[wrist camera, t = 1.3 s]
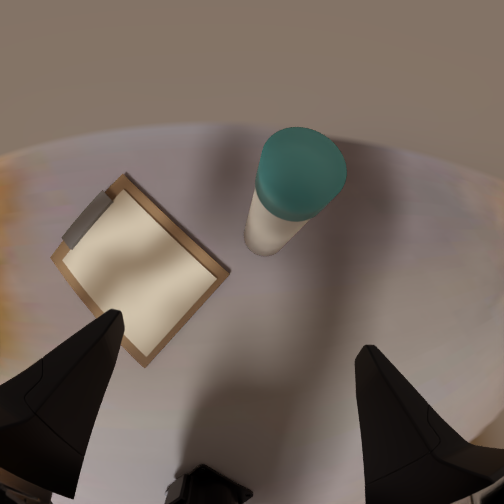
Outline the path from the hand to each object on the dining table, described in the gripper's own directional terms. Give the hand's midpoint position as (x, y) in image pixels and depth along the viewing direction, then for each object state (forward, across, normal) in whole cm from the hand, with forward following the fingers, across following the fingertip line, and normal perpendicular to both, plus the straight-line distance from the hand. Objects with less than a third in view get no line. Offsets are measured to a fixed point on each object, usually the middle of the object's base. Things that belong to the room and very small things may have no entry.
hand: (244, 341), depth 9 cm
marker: (+15, -2, +3) cm, 15 cm away
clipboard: (+12, +10, +7) cm, 17 cm away
